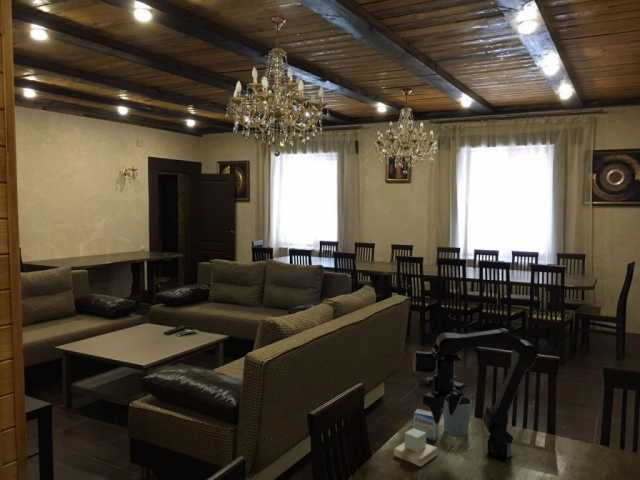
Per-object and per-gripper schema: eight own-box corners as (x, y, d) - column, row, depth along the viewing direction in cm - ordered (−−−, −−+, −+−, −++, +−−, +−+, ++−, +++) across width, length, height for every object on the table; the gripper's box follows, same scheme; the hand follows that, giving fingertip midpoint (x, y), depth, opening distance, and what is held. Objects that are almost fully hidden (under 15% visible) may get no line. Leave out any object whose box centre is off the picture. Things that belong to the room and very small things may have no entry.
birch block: (437, 456, 175) (437, 447, 175) (420, 468, 168) (420, 458, 168) (411, 446, 182) (411, 438, 182) (394, 457, 175) (394, 448, 174)
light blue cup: (436, 430, 193) (437, 398, 192) (452, 422, 200) (453, 391, 198) (460, 440, 185) (461, 407, 184) (476, 431, 192) (477, 399, 191)
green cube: (425, 447, 175) (426, 432, 175) (417, 452, 171) (418, 437, 171) (412, 442, 178) (413, 428, 178) (404, 447, 175) (404, 432, 174)
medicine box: (412, 436, 188) (413, 412, 187) (416, 431, 192) (417, 408, 191) (434, 441, 185) (435, 417, 184) (438, 436, 189) (438, 412, 188)
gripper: (438, 360, 185) (437, 403, 187) (408, 373, 172) (407, 420, 173) (468, 368, 178) (466, 413, 179) (438, 382, 164) (437, 431, 166)
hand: (443, 418), depth 175 cm, fingers open, 9 cm apart
